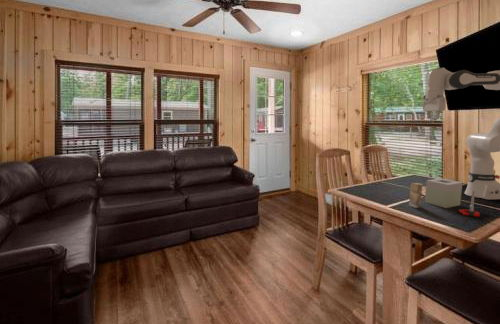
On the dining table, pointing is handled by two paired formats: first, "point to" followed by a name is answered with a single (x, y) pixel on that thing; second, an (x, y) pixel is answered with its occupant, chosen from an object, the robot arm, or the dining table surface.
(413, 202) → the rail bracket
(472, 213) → the red base grey post
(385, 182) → the dining table surface
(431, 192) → the white tissue box
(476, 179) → the robot arm
